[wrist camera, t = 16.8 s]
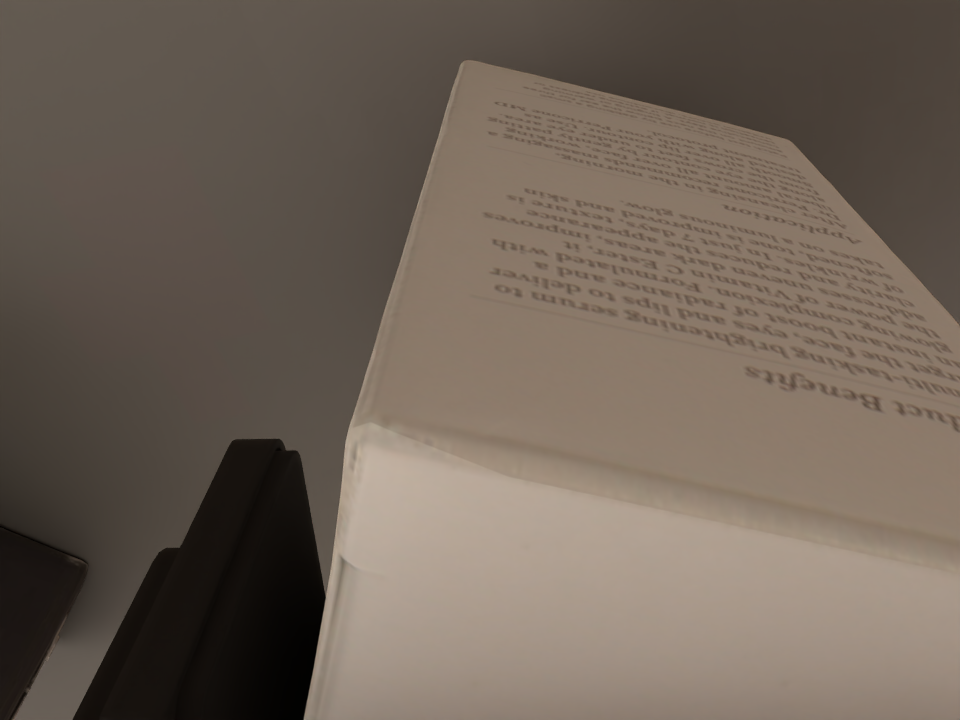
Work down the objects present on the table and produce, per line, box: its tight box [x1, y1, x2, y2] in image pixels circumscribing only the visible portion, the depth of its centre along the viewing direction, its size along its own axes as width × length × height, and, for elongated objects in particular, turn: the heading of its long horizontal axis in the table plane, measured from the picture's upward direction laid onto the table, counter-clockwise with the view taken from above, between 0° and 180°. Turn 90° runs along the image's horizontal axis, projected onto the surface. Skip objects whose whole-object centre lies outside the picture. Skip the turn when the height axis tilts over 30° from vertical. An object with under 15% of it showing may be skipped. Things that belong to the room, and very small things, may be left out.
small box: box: [304, 60, 960, 720], centre depth 12 cm, size 8×6×10 cm
